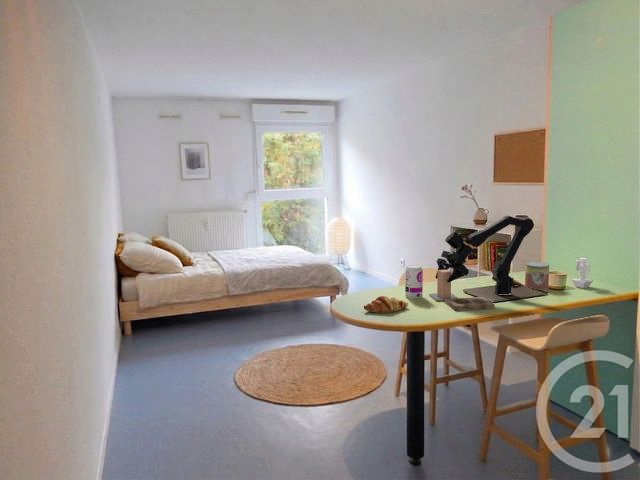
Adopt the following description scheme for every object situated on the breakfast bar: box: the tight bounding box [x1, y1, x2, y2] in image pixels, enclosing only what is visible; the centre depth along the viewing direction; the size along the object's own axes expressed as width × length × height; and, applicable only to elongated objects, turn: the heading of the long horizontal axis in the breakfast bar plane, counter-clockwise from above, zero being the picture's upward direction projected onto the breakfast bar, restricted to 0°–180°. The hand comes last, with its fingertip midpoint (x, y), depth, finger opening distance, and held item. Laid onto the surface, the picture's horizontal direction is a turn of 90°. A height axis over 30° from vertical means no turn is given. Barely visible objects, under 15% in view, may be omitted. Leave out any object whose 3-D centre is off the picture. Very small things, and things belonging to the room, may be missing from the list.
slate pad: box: [428, 292, 458, 302], centre depth 236 cm, size 11×11×1 cm
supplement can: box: [404, 264, 424, 300], centre depth 238 cm, size 8×8×15 cm
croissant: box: [363, 295, 409, 314], centre depth 218 cm, size 21×10×8 cm, turn 107°
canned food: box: [524, 261, 550, 291], centre depth 252 cm, size 11×11×12 cm
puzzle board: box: [444, 296, 495, 311], centre depth 222 cm, size 18×12×2 cm
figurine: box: [570, 257, 594, 289], centre depth 250 cm, size 7×9×15 cm
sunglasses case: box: [491, 275, 524, 287], centre depth 263 cm, size 18×7×7 cm
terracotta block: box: [436, 269, 452, 298], centre depth 235 cm, size 4×4×12 cm
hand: (441, 280), depth 234 cm, fingers open, 9 cm apart
